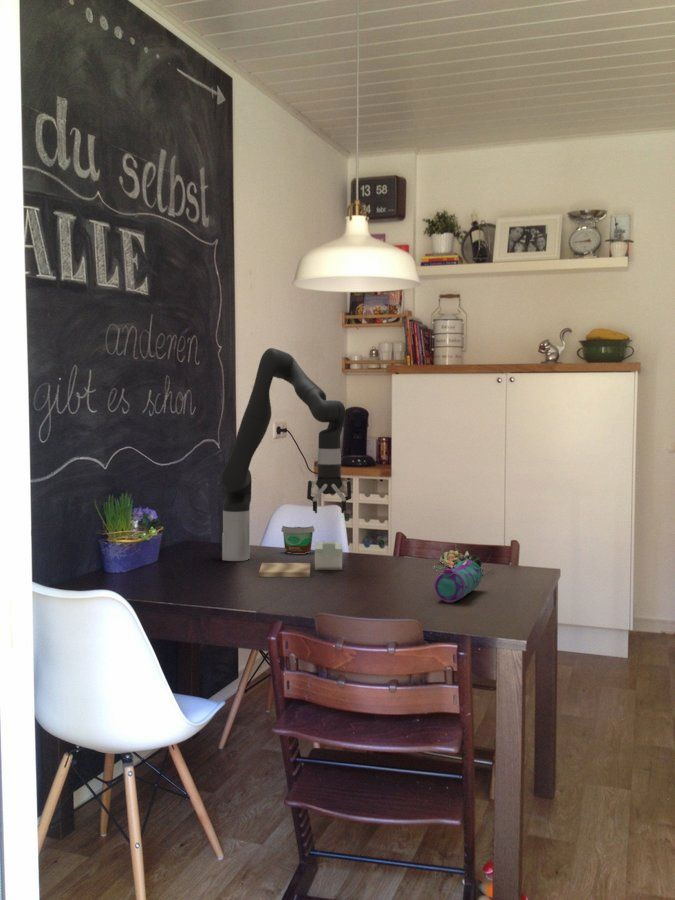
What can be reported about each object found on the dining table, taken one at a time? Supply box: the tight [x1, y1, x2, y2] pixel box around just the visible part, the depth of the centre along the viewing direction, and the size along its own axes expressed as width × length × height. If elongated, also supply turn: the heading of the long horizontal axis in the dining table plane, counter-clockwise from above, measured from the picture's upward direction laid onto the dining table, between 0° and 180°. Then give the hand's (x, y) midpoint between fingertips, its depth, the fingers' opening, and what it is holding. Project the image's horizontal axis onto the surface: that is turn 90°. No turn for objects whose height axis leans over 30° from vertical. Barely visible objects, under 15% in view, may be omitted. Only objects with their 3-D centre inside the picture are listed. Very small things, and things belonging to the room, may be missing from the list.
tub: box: [314, 552, 343, 571], centre depth 284 cm, size 9×12×6 cm
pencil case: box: [434, 559, 483, 604], centre depth 240 cm, size 21×9×10 cm, turn 157°
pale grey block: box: [314, 541, 343, 555], centre depth 281 cm, size 9×19×4 cm, turn 1°
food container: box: [281, 525, 316, 553], centre depth 309 cm, size 12×6×10 cm, turn 88°
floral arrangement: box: [432, 543, 483, 571], centre depth 284 cm, size 35×28×7 cm
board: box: [258, 562, 311, 578], centre depth 274 cm, size 16×16×2 cm
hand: (329, 512), depth 273 cm, fingers open, 8 cm apart
